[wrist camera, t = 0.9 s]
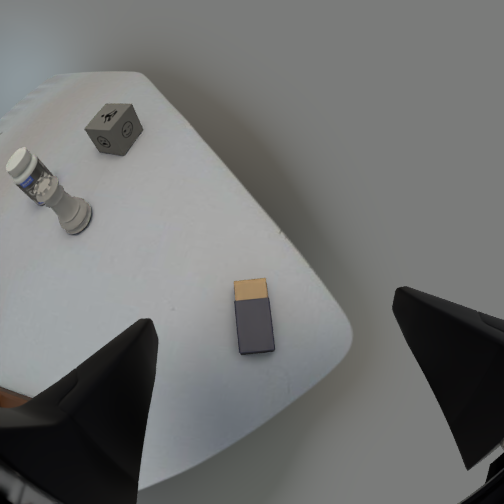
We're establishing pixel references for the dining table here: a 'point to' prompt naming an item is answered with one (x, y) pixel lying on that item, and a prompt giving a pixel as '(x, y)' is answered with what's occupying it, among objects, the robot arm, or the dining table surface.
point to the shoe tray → (11, 398)
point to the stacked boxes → (253, 317)
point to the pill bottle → (26, 171)
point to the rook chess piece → (63, 204)
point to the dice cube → (114, 128)
